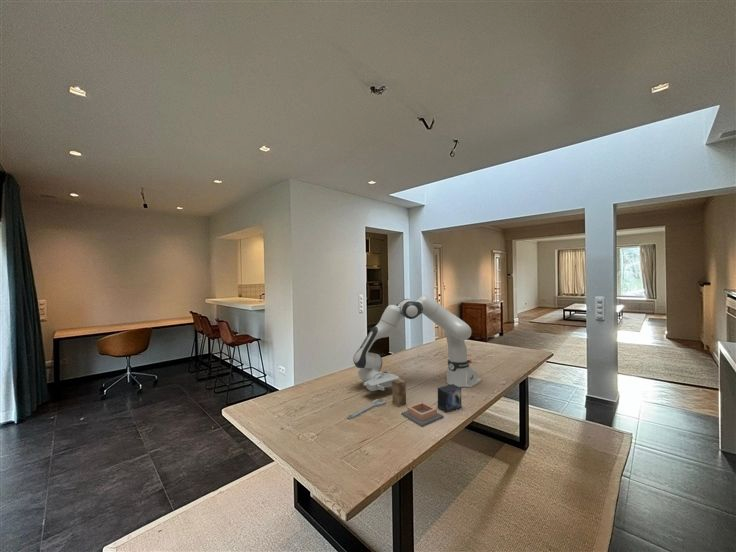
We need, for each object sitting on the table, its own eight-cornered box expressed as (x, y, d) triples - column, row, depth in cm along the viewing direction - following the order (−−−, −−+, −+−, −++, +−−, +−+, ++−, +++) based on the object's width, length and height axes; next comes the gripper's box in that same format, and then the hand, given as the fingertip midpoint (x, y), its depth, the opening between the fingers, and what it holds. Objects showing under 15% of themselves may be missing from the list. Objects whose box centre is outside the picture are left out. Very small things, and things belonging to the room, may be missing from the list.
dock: (422, 407, 148) (422, 399, 148) (443, 417, 136) (443, 409, 136) (401, 414, 140) (401, 406, 140) (421, 427, 128) (421, 418, 129)
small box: (445, 413, 141) (445, 391, 141) (437, 408, 147) (436, 387, 147) (462, 408, 145) (461, 387, 145) (453, 403, 151) (452, 383, 151)
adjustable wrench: (350, 421, 137) (350, 417, 137) (342, 416, 141) (342, 412, 141) (387, 404, 153) (387, 400, 153) (379, 400, 158) (379, 397, 158)
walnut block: (400, 401, 156) (399, 378, 156) (406, 404, 152) (405, 381, 152) (392, 403, 153) (392, 380, 153) (398, 406, 149) (398, 383, 149)
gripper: (361, 378, 164) (375, 385, 152) (390, 370, 175) (405, 377, 164) (362, 389, 164) (375, 397, 152) (390, 381, 175) (405, 388, 164)
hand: (391, 386), depth 158 cm, fingers open, 8 cm apart
